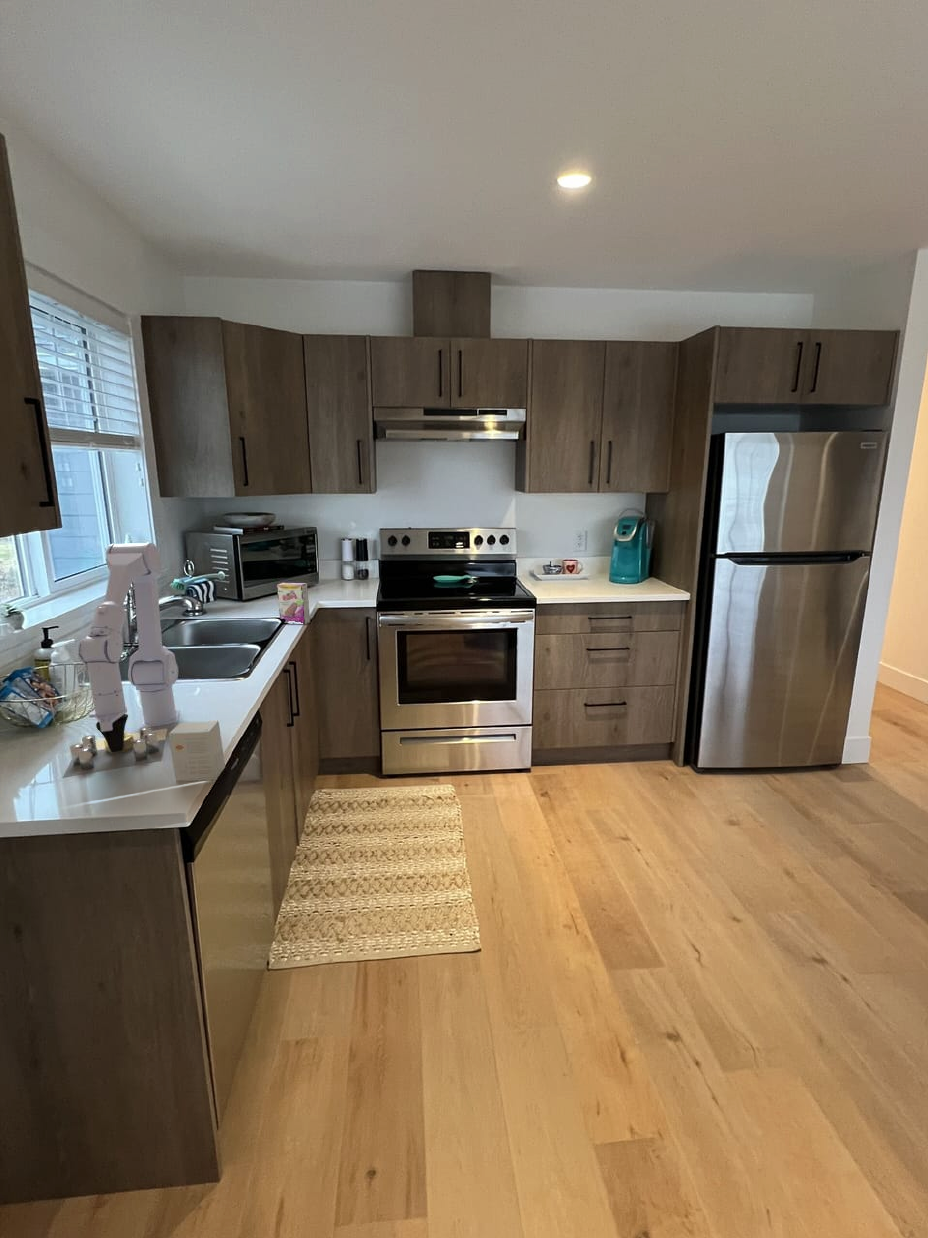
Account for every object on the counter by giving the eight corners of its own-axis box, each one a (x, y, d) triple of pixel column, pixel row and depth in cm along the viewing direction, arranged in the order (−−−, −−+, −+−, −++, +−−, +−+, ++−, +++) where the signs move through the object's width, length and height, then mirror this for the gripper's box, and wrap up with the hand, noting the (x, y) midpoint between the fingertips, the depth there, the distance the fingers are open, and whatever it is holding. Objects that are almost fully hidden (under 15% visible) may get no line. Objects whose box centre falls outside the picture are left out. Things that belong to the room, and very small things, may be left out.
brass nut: (107, 746, 140) (105, 735, 140) (136, 741, 142) (134, 731, 142) (103, 755, 136) (101, 744, 135) (133, 750, 138) (131, 739, 137)
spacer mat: (81, 743, 144) (81, 741, 143) (167, 729, 150) (167, 728, 150) (62, 779, 126) (62, 777, 126) (161, 762, 132) (161, 760, 132)
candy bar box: (279, 624, 255) (276, 584, 251) (286, 621, 259) (282, 582, 256) (305, 625, 252) (301, 584, 248) (311, 622, 257) (307, 582, 253)
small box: (226, 768, 129) (219, 720, 126) (216, 781, 123) (209, 731, 121) (186, 770, 129) (179, 721, 126) (175, 783, 123) (167, 733, 121)
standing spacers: (78, 754, 137) (75, 737, 136) (161, 741, 142) (158, 724, 141) (69, 772, 128) (65, 754, 127) (157, 758, 134) (154, 740, 133)
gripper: (91, 683, 138) (101, 741, 141) (78, 705, 125) (90, 768, 128) (127, 678, 140) (136, 735, 143) (118, 699, 127) (128, 761, 130)
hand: (117, 750), depth 136 cm, fingers closed
